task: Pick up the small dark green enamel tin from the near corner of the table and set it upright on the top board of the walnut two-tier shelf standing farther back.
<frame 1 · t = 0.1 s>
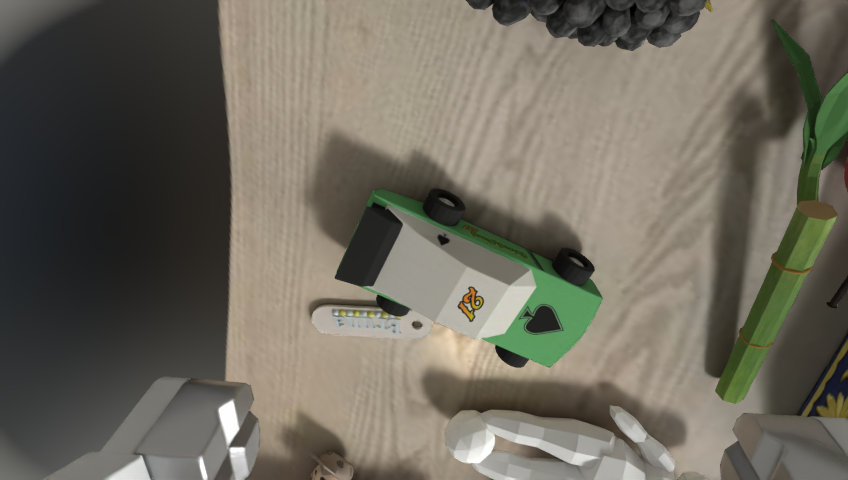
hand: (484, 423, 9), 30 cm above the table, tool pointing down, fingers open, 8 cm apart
toy car: (470, 267, 42), on the table
decorative plant: (765, 232, 38), on the table
keychain: (372, 319, 45), on the table
doll: (573, 439, 49), on the table
lollipop: (832, 308, 38), point 2 cm above the table
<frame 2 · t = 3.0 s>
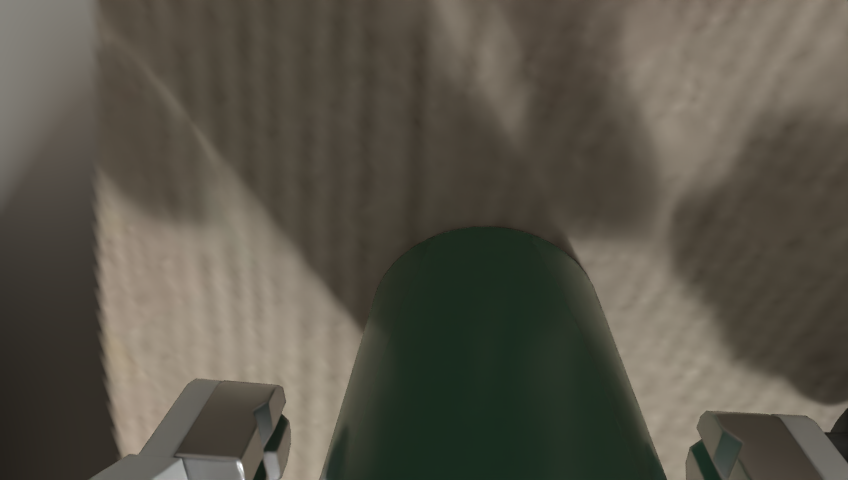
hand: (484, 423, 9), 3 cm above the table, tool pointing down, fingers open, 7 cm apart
tin: (483, 326, 11), on the table
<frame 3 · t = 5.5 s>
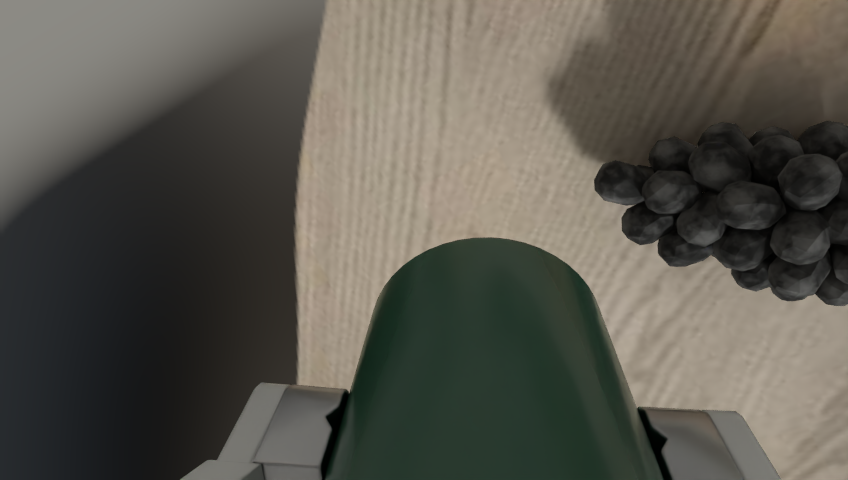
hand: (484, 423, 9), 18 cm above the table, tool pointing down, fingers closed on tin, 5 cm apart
fruit: (738, 169, 25), on the table
tin: (484, 337, 11), point 16 cm above the table, touching gripper
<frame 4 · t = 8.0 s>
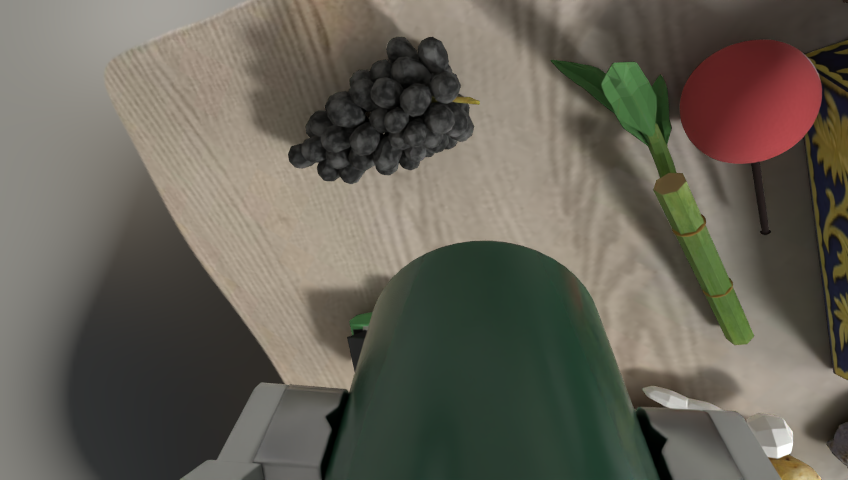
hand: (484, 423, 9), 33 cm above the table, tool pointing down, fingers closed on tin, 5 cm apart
toy car: (460, 333, 49), on the table
decorative plant: (672, 198, 41), on the table
fruit: (380, 107, 40), on the table
doll: (637, 425, 53), on the table
tin: (483, 339, 11), point 31 cm above the table, touching gripper
lollipop: (768, 233, 40), point 2 cm above the table
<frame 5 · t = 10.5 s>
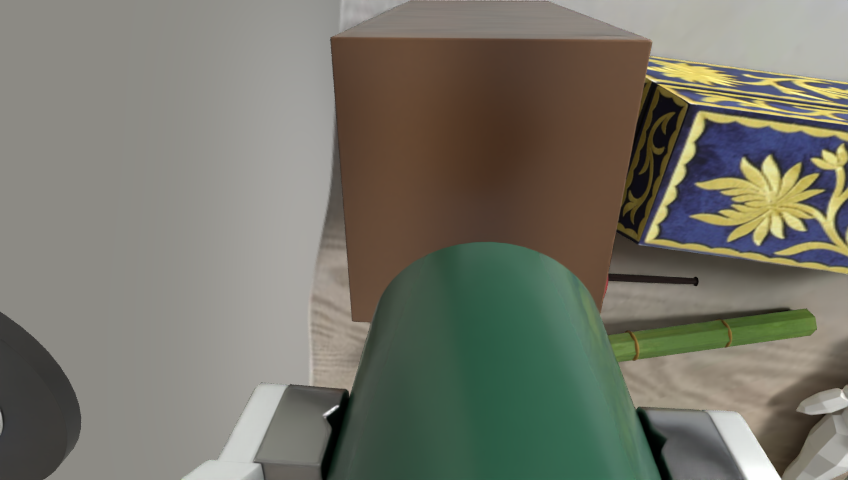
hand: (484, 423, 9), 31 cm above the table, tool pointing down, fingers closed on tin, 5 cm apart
decorative box: (780, 154, 37), on the table
decorative plant: (616, 311, 44), on the table
doll: (847, 421, 47), on the table
shelf: (474, 79, 36), on the table
tin: (484, 340, 11), point 29 cm above the table, touching gripper
lollipop: (699, 280, 39), point 2 cm above the table
when the fingers open (24 cm above the table, at t = 12.5 s): tin stays where it is, resting on shelf.
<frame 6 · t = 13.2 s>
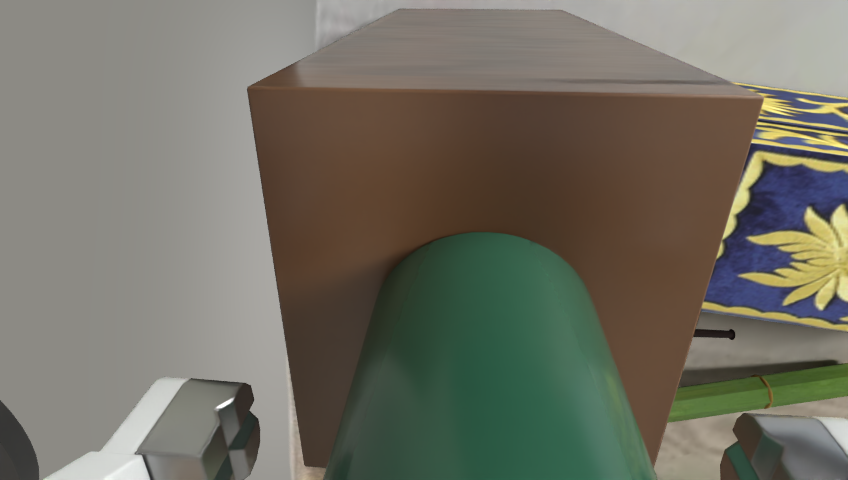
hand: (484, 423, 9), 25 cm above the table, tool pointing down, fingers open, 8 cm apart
decorative box: (833, 190, 31), on the table
decorative plant: (636, 362, 39), on the table
shelf: (475, 101, 31), on the table
tin: (481, 328, 11), point 22 cm above the table, touching shelf
lollipop: (736, 333, 34), point 2 cm above the table
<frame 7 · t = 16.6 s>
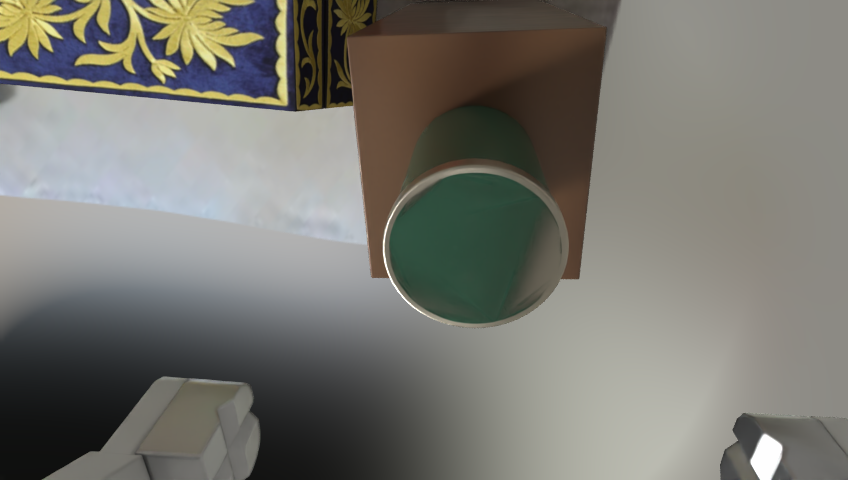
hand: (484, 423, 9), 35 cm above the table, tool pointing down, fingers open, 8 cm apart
decorative box: (183, 13, 39), on the table
shelf: (472, 72, 40), on the table
tin: (473, 167, 20), point 22 cm above the table, touching shelf
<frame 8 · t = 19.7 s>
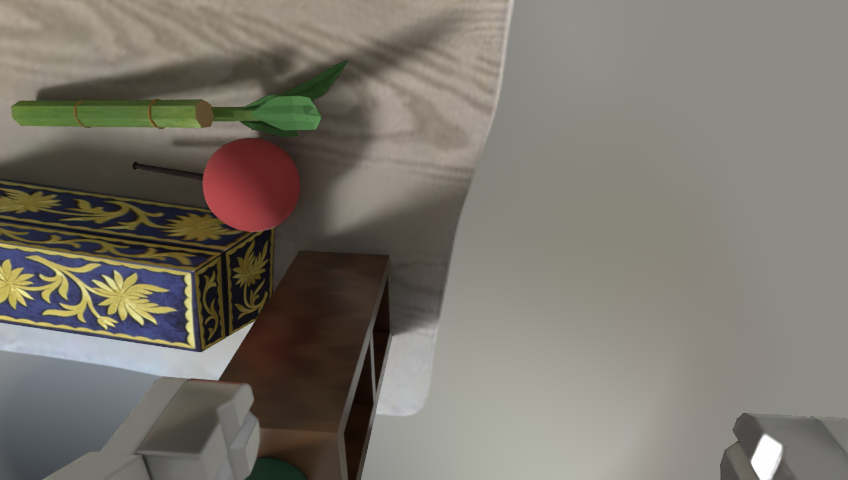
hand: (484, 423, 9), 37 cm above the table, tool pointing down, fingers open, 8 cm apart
decorative box: (129, 244, 52), on the table
decorative plant: (187, 105, 45), on the table
shelf: (347, 295, 53), on the table
lollipop: (133, 167, 46), point 2 cm above the table
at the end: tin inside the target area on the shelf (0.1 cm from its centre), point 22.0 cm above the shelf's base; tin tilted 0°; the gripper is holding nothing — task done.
